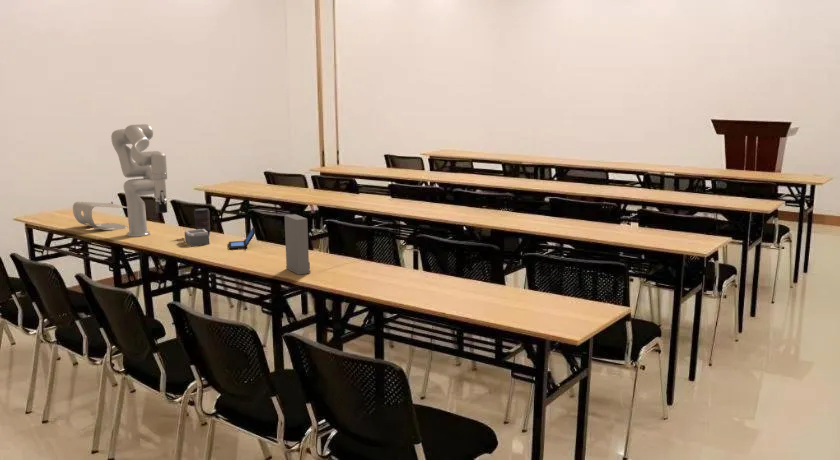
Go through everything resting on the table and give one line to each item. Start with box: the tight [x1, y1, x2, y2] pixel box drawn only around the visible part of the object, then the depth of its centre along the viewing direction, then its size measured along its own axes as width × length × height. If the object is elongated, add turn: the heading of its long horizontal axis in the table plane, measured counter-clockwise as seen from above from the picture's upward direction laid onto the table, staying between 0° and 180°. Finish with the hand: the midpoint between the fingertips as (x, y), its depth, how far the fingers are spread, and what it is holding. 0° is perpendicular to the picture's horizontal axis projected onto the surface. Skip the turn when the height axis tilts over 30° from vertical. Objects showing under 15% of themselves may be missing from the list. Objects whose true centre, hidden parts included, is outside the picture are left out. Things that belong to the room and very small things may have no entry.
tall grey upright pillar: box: [284, 214, 312, 276], centre depth 323 cm, size 14×6×25 cm, turn 33°
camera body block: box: [184, 229, 210, 247], centre depth 386 cm, size 14×10×6 cm
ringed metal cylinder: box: [155, 197, 168, 214], centre depth 379 cm, size 6×6×7 cm
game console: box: [228, 226, 256, 251], centre depth 376 cm, size 16×14×9 cm
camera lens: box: [194, 208, 211, 236], centre depth 403 cm, size 8×8×15 cm
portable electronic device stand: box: [72, 201, 129, 231], centre depth 427 cm, size 26×24×16 cm
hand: (161, 210), depth 380 cm, fingers closed on ringed metal cylinder, 5 cm apart
